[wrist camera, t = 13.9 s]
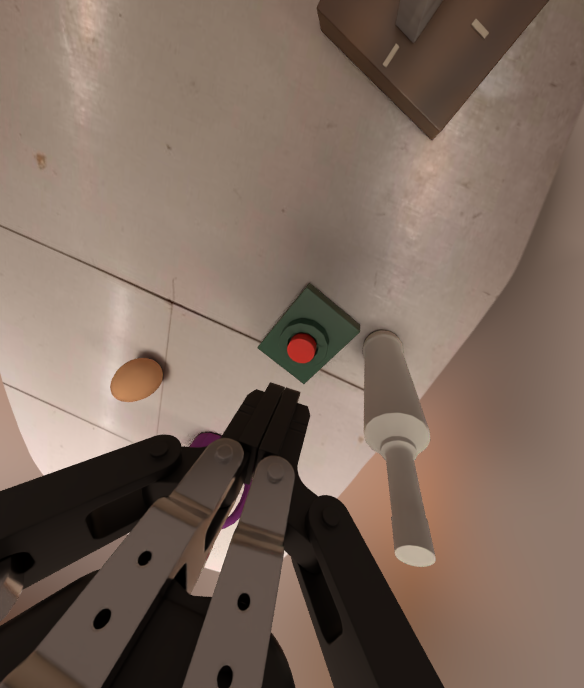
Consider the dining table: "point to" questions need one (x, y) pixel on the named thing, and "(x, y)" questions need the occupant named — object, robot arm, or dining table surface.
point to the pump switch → (310, 332)
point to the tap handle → (415, 16)
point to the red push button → (301, 348)
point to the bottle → (397, 442)
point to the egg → (136, 380)
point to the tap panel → (427, 50)
